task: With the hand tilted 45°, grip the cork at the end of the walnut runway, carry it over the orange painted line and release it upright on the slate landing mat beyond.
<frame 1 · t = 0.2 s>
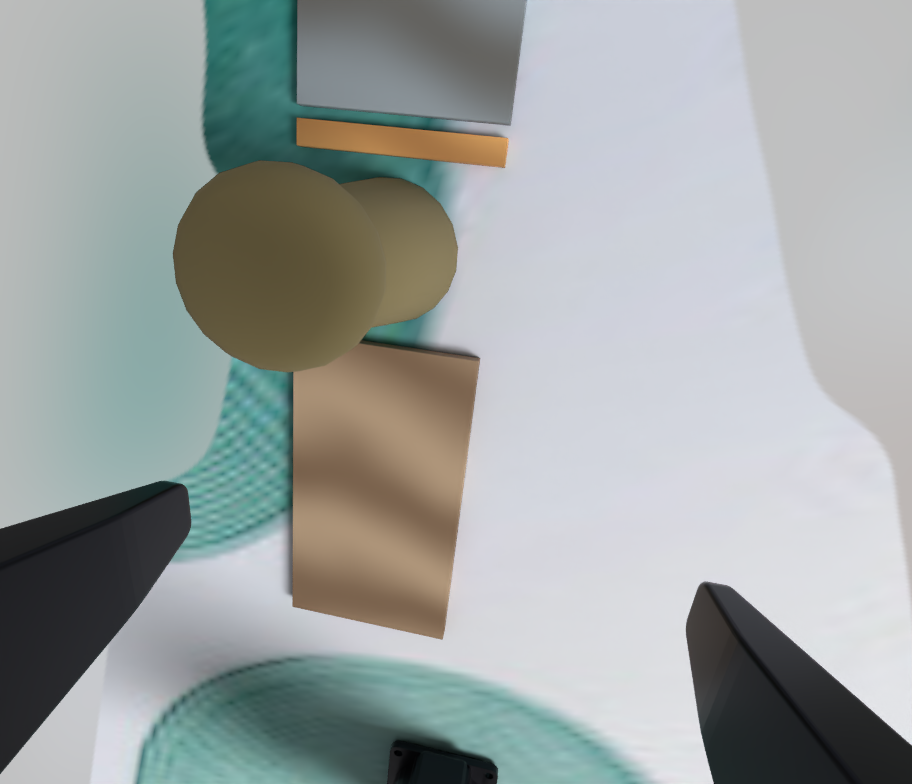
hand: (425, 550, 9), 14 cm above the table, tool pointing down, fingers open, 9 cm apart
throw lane: (388, 333, 23), on the table
cork: (389, 252, 22), on the table
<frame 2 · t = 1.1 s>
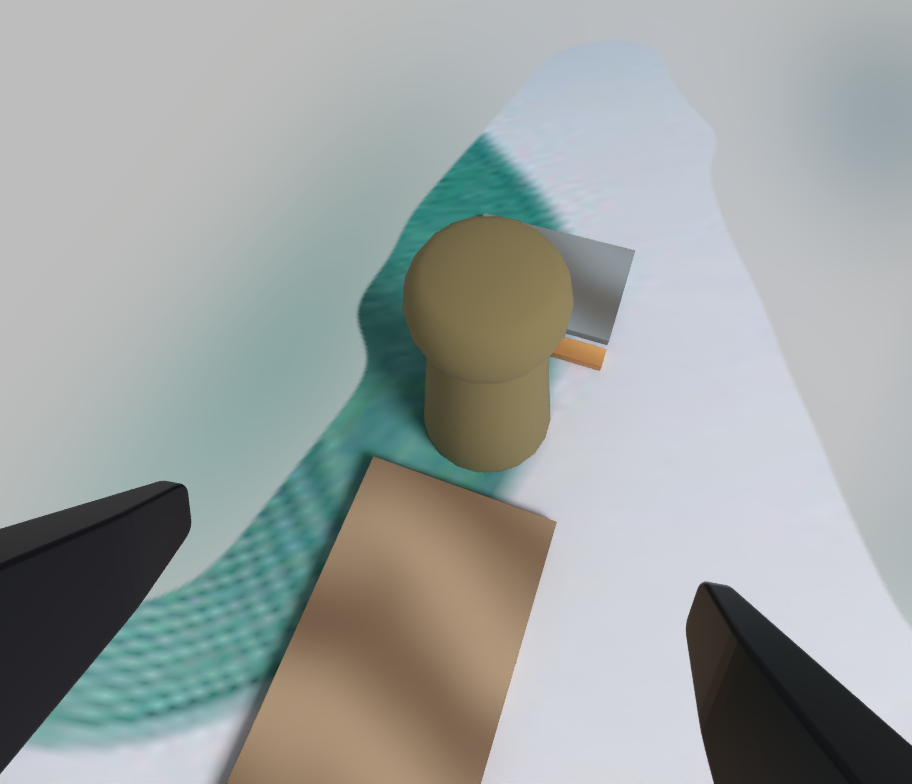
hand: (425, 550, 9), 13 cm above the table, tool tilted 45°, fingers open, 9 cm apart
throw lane: (466, 480, 23), on the table
cork: (486, 412, 24), on the table
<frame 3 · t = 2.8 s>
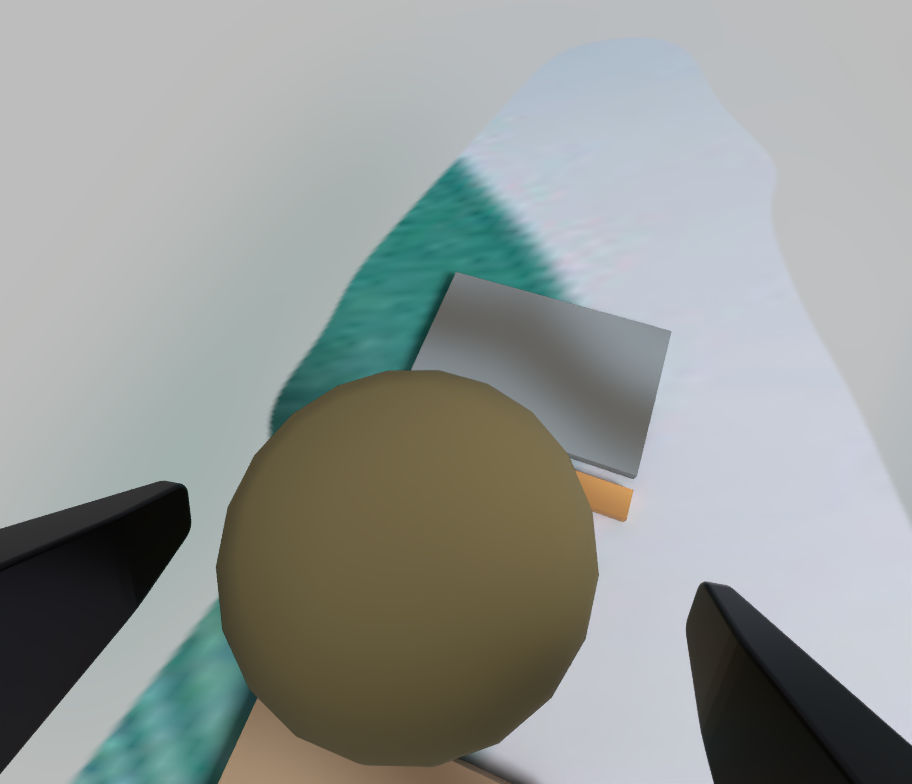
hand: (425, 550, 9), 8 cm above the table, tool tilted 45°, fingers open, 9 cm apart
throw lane: (414, 714, 14), on the table
cork: (451, 588, 16), on the table
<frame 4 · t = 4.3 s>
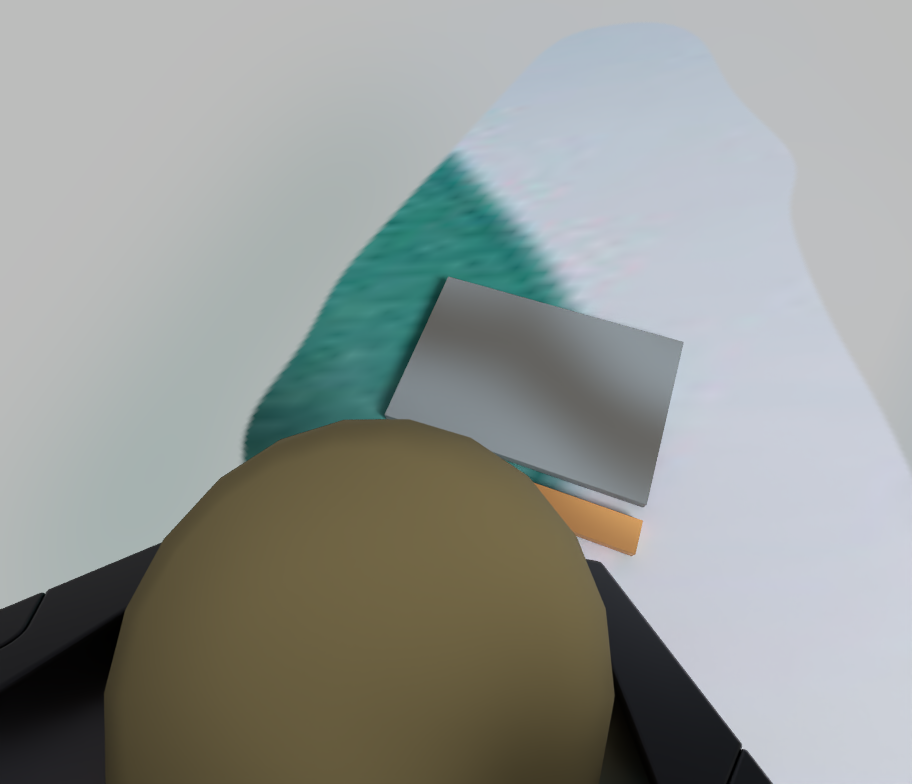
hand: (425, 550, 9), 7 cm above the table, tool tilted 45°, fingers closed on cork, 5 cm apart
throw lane: (398, 777, 13), on the table
cork: (440, 630, 14), on the table, touching gripper
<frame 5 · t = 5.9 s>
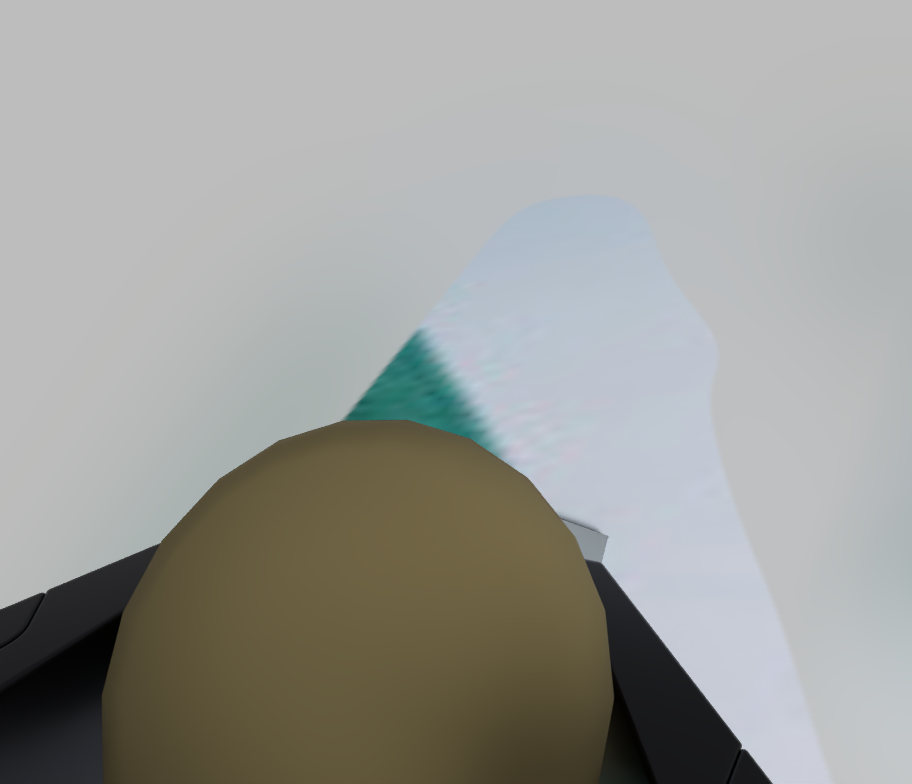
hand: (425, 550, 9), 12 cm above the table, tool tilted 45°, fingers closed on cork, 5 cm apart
cork: (440, 630, 14), point 5 cm above the table, touching gripper
when the fingers open (8 cm above the table, at t = 7.7 s): cork stays where it is, resting on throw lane.
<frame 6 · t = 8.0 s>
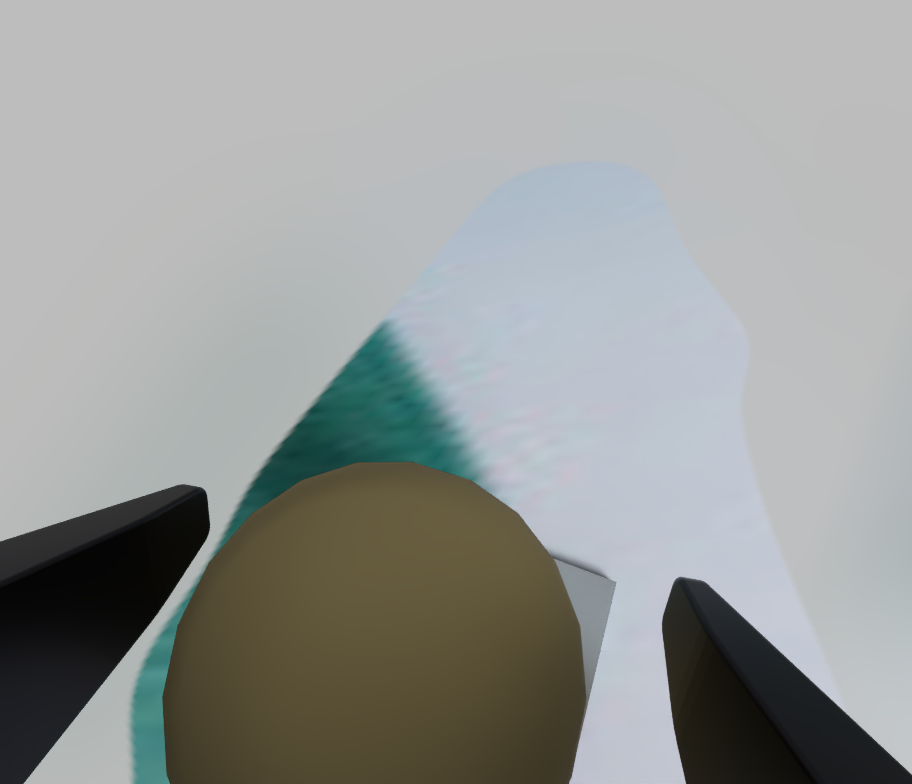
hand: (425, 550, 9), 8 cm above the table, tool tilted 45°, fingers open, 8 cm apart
cork: (441, 637, 15), resting on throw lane
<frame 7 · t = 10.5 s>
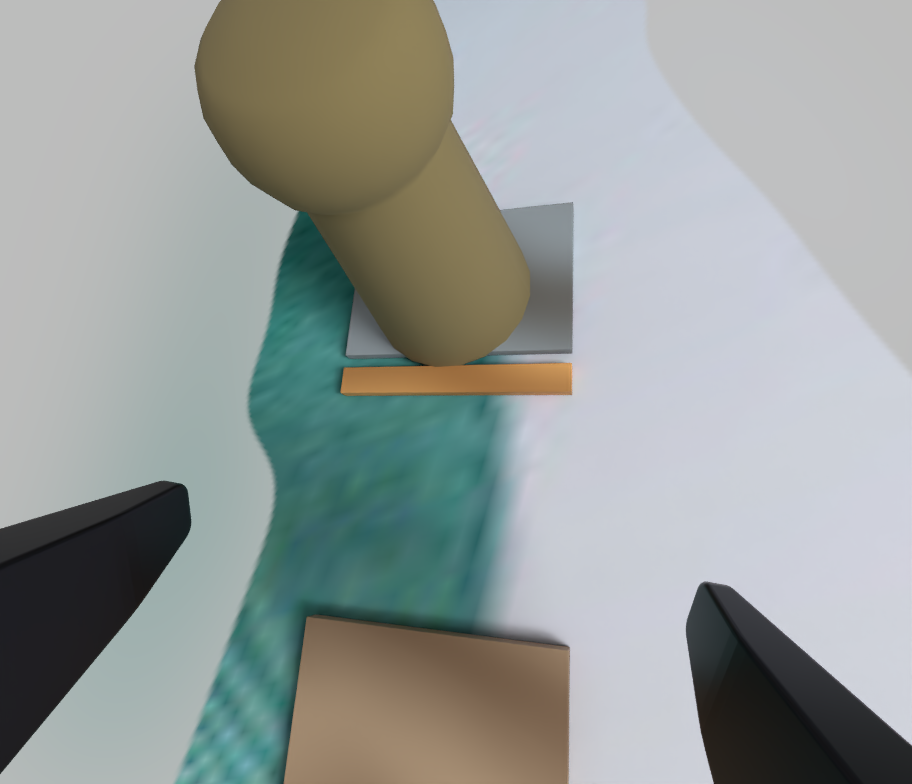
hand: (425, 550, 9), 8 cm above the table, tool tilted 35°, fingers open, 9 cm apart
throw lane: (435, 612, 16), on the table
cork: (452, 293, 19), resting on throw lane
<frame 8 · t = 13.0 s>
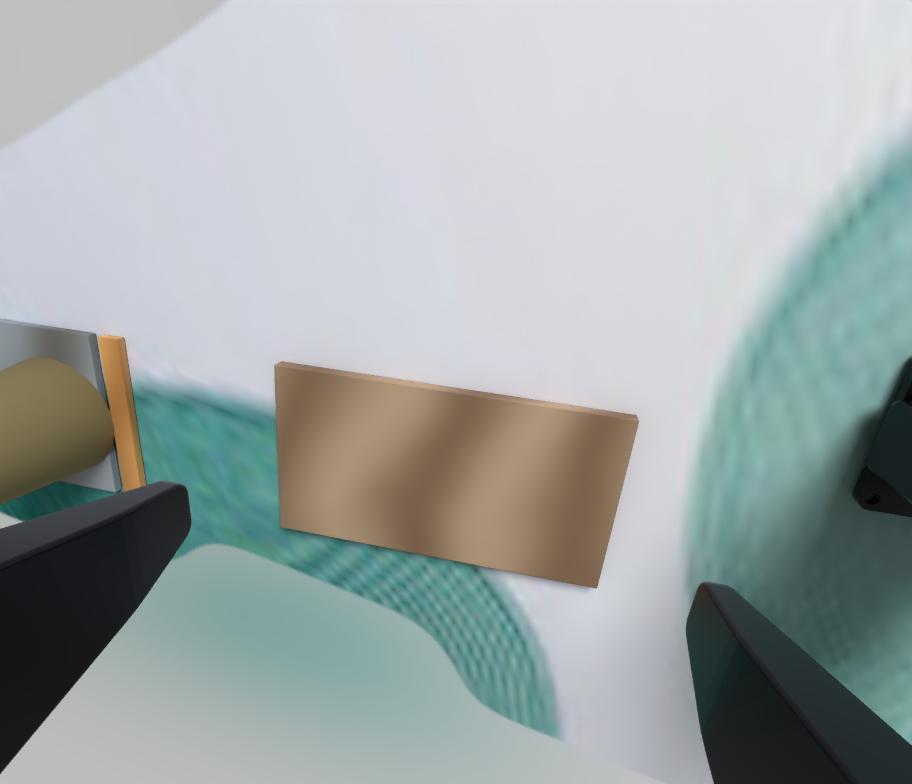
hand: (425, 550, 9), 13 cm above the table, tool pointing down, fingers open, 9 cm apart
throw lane: (274, 444, 24), on the table
cork: (63, 413, 25), resting on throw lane
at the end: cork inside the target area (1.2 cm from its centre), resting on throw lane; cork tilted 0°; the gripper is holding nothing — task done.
